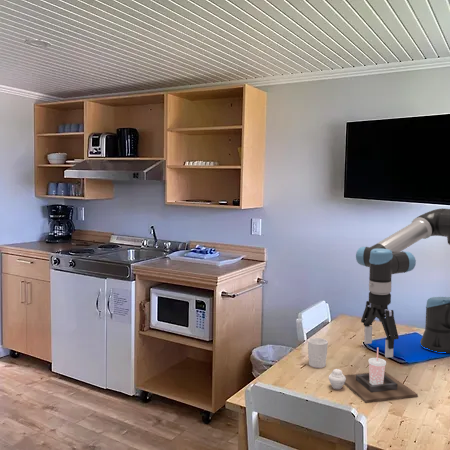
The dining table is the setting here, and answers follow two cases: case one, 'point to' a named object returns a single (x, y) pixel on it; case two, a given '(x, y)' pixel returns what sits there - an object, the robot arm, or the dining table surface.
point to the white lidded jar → (337, 379)
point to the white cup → (317, 352)
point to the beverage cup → (376, 370)
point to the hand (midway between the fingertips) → (378, 349)
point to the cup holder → (378, 388)
